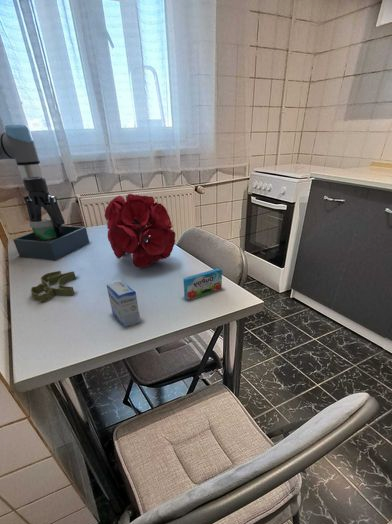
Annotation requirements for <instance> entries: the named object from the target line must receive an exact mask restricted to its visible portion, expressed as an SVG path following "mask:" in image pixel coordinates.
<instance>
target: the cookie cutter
mask: <svg viewBox="0 0 392 524" xmlns="http://www.w3.org/2000/svg"><path fill="white" fill-rule="evenodd" d="M76 279H77V277H76V274H75V271H69V272H65V273H62V270H57V271H51V272H48V273H46V274H43V275H41V277H40V280H41V283H39V284H38V285H36V286H31V288H30V293H31V295H32V298H33V299H34V300H36V301H40V303H44V302H46V301H49V300H51V299H53V298H52V297H54V296H73V295H75V290H74V289H75V288H74V287H73V286H68V285H67V286H66V285H64V284H66V283H68V282H71V281H73V280H76ZM48 283H49V285H54V284H57V285H58V287H52V286H48ZM42 291H44V293H42V294H41V292H42Z"/></svg>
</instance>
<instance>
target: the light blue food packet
mask: <svg viewBox="0 0 392 524" xmlns="http://www.w3.org/2000/svg"><path fill="white" fill-rule="evenodd" d="M182 282H183V294H184V296H183V297H184V299H185V300H187V301H190V300H194V299H197V298H199V297H203V296H206V295H209V294H212V293H215V292H218V291H221V290H222V289H223V270H222V269H220V268H217V267H216V268H213V269H210V270H207V271H203V272H200V273H197V274H193V275H190V276H186V277H184V278H183V281H182Z"/></svg>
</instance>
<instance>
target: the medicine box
mask: <svg viewBox="0 0 392 524" xmlns="http://www.w3.org/2000/svg"><path fill="white" fill-rule="evenodd" d="M106 290H107V295H108V299H109V304H110V308H111V313H112V315H113V316H114V317H115V319H117V321H119V323H120V324H121V325H122V326H123V327H125V328H126V327H129V326H132V325H135V324H138V323H140V322H141V315H140V309H139V304H138V297H137V293H136V290H134V289H133V288H132V287H131V286H129V285H128V284H127V283H125V282H124V281H123V280H118V281H113V282H111V283H107V284H106Z"/></svg>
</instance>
